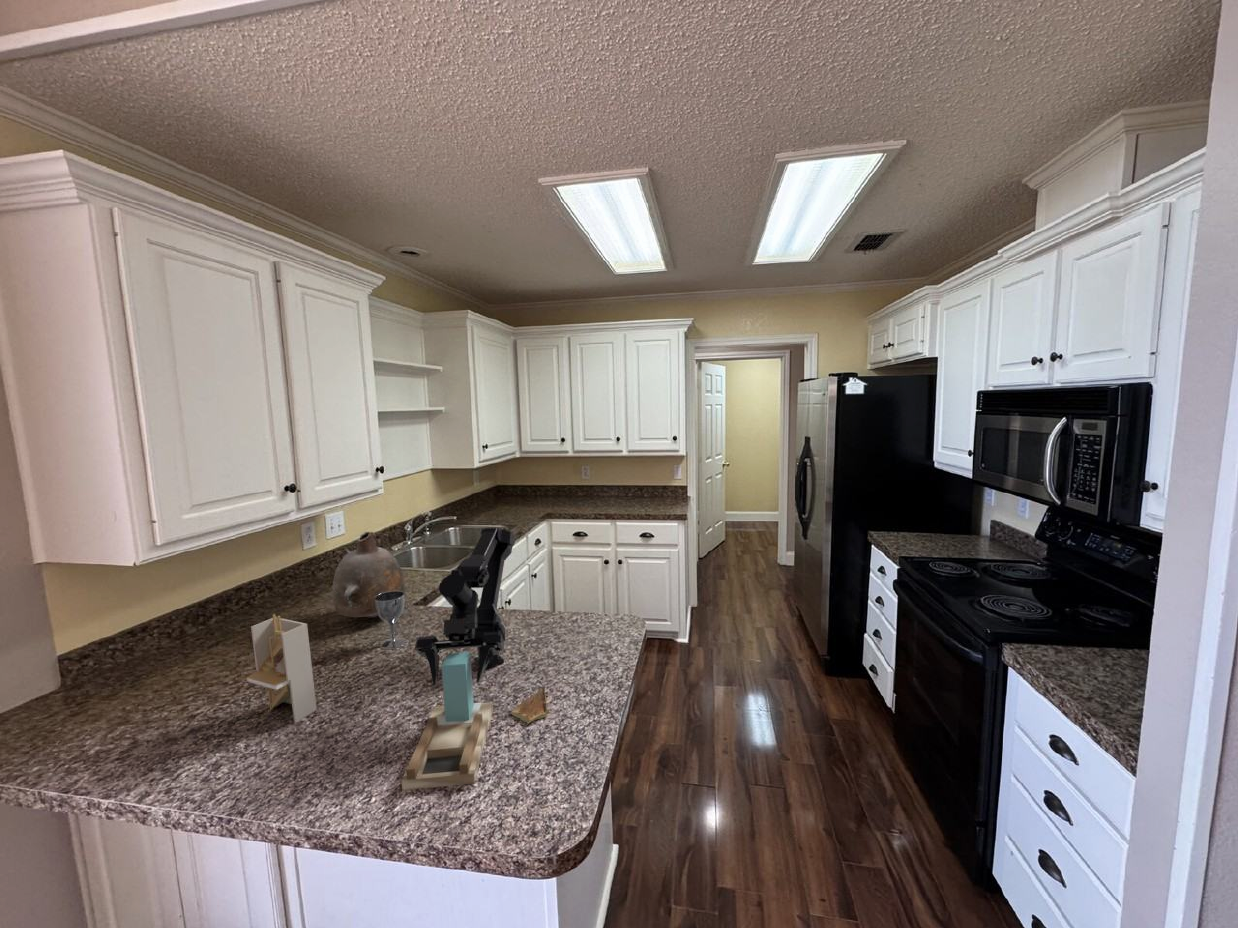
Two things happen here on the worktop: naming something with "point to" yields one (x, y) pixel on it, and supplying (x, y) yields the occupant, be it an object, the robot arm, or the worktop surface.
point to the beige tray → (448, 750)
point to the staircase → (284, 664)
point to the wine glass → (390, 614)
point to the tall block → (457, 686)
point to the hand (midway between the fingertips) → (456, 683)
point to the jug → (365, 578)
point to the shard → (532, 708)
